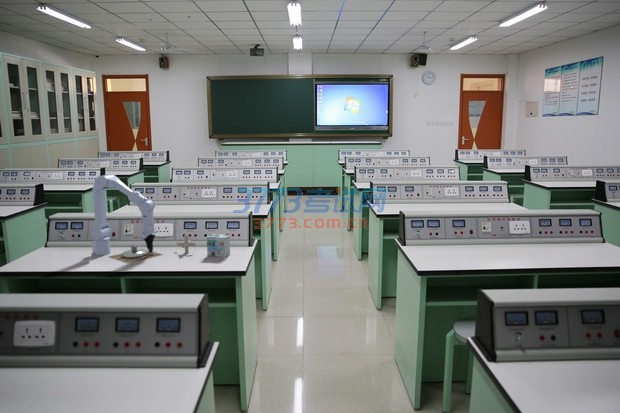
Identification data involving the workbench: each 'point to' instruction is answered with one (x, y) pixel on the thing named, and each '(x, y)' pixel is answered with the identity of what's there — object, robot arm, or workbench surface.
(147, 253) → the crank
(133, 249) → the post
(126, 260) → the base board
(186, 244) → the pipe connector
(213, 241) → the light bulb box
